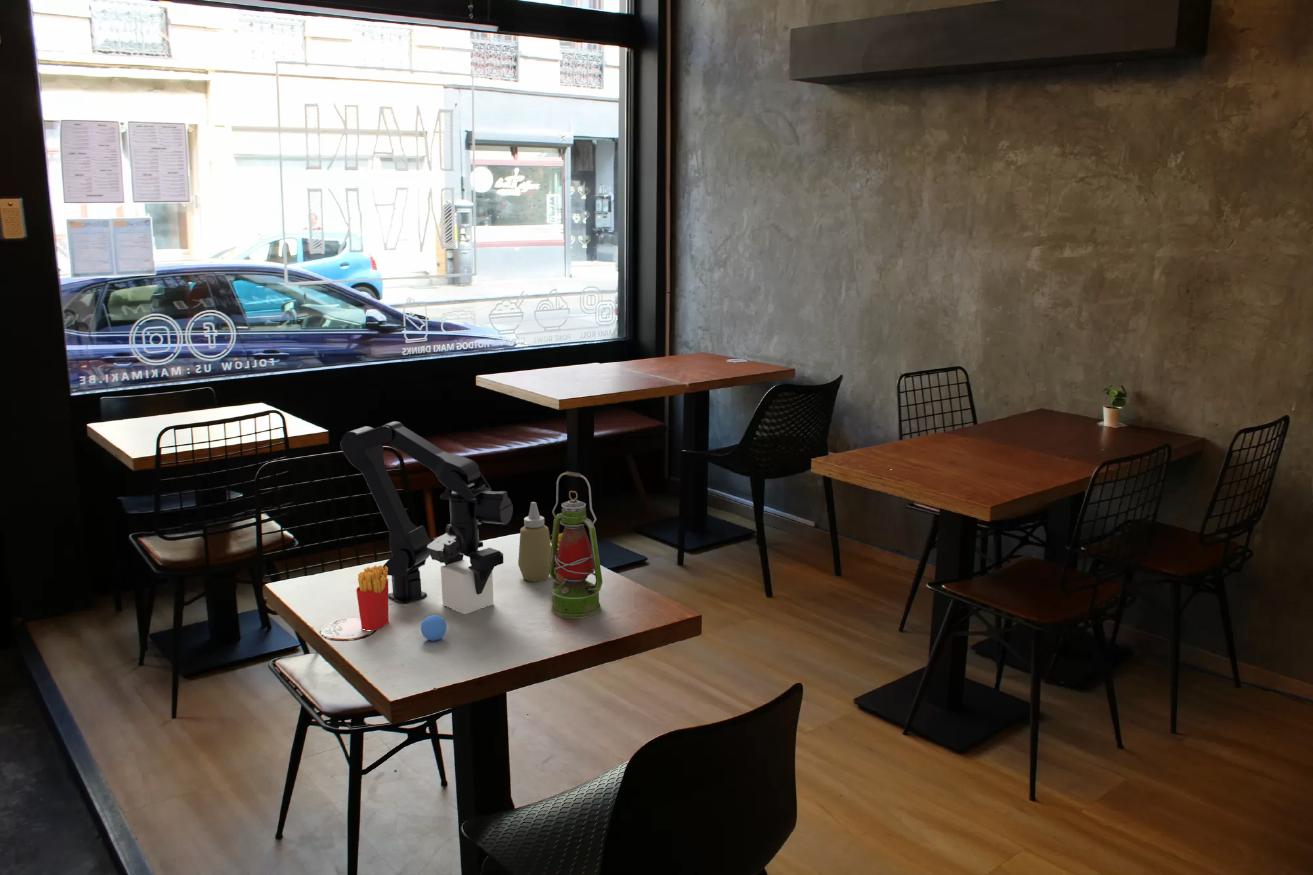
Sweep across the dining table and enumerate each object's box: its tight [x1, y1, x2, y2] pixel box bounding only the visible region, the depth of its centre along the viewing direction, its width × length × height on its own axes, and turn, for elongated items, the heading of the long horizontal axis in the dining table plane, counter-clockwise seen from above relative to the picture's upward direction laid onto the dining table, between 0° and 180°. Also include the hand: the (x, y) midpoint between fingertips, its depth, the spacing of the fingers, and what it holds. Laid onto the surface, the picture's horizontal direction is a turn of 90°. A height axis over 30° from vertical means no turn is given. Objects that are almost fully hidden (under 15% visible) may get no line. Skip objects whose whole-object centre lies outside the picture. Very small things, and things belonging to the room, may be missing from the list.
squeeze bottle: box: [517, 501, 552, 582], centre depth 242 cm, size 8×8×18 cm
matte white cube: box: [440, 557, 495, 615], centre depth 227 cm, size 8×8×9 cm
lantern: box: [549, 471, 603, 619], centre depth 222 cm, size 14×11×30 cm
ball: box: [420, 614, 447, 642], centre depth 209 cm, size 5×5×5 cm
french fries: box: [355, 564, 390, 631], centre depth 216 cm, size 8×4×12 cm, turn 158°
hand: (467, 589), depth 227 cm, fingers closed on matte white cube, 8 cm apart
